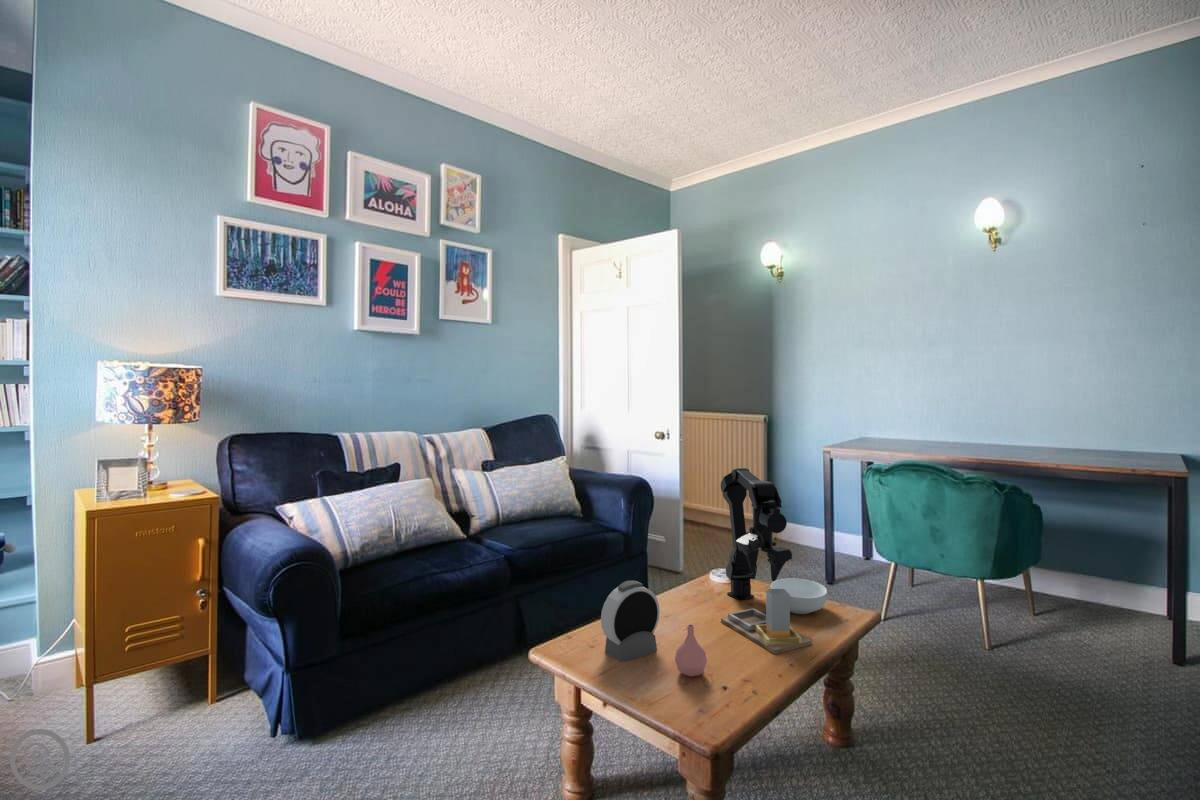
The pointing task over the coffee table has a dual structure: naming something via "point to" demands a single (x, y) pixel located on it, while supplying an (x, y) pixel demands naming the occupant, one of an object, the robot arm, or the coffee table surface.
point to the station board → (763, 631)
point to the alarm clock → (630, 621)
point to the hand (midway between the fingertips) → (762, 576)
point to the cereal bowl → (802, 594)
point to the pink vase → (690, 655)
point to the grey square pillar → (777, 613)
